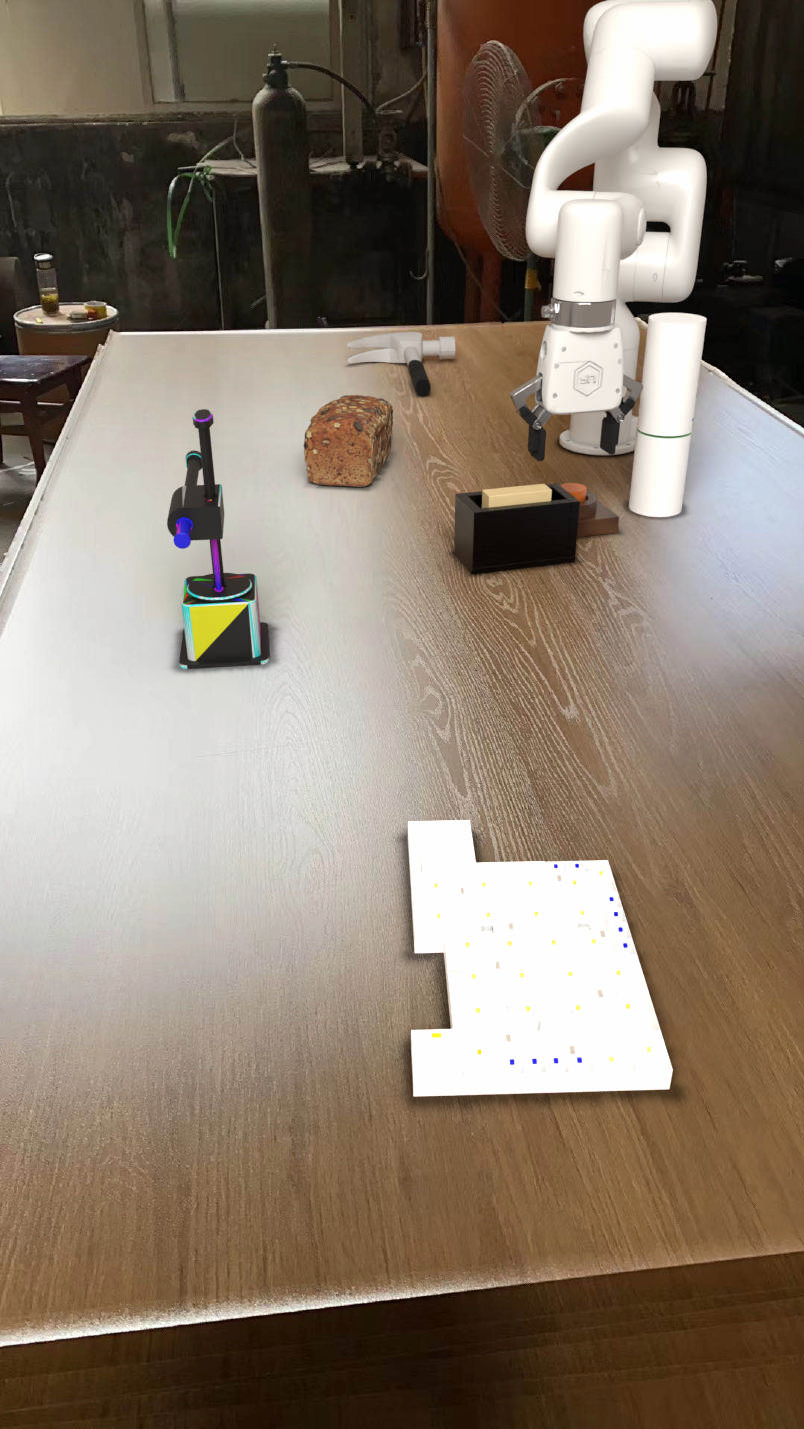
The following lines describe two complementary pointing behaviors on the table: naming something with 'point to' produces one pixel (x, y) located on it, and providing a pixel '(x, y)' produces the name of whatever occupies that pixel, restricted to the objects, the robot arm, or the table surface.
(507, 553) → the toaster
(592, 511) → the control block
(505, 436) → the table surface
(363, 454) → the bread
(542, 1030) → the floor plan model
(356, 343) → the claw hammer
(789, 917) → the table surface
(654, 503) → the cylindrical container
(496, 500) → the toast
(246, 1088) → the table surface
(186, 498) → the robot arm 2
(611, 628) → the table surface
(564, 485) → the button
